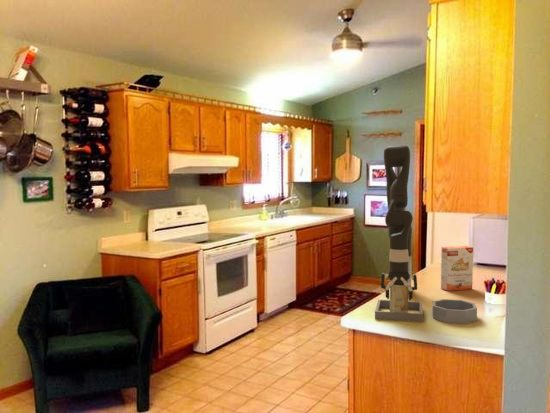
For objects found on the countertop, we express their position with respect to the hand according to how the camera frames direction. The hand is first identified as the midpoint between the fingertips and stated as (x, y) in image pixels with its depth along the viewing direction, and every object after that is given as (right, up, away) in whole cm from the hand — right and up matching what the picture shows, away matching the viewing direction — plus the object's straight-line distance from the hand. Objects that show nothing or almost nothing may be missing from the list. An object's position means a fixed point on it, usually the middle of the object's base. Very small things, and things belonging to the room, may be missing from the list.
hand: (399, 299), depth 192 cm
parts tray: (0, -6, +1) cm, 6 cm away
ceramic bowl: (+20, -6, -5) cm, 22 cm away
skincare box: (0, -6, +1) cm, 6 cm away
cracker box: (+39, -3, +39) cm, 55 cm away
